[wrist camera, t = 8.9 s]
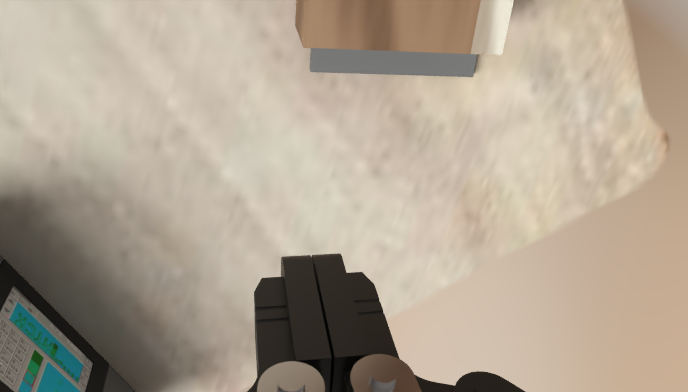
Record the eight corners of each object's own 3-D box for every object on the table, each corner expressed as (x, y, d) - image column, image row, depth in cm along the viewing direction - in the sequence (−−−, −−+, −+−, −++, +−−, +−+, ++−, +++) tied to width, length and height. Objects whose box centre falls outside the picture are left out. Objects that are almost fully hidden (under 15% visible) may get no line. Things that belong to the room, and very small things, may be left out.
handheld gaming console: (148, 396, 52) (131, 502, 43) (121, 408, 52) (100, 516, 44) (-43, 203, 40) (-118, 297, 31) (-77, 220, 40) (-160, 318, 32)
